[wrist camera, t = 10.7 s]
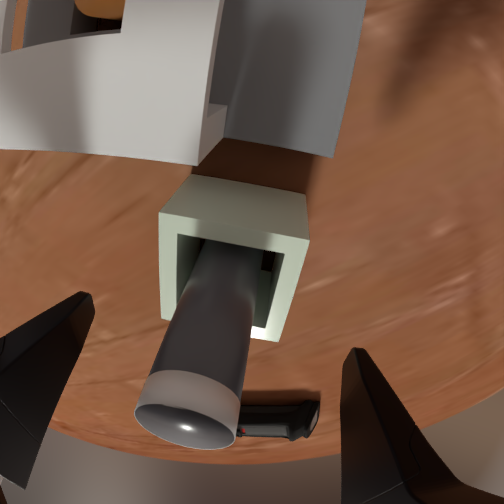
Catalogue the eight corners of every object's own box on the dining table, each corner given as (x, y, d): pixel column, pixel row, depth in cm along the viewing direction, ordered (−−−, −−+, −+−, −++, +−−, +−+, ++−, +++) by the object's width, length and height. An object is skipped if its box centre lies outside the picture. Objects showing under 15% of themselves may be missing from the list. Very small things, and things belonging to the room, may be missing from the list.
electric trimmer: (140, 384, 25) (129, 412, 23) (320, 395, 23) (320, 430, 20) (154, 405, 27) (145, 431, 25) (318, 416, 25) (318, 447, 22)
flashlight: (209, 250, 16) (141, 434, 8) (214, 203, 15) (126, 391, 6) (261, 260, 16) (229, 455, 8) (271, 213, 15) (241, 419, 6)
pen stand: (185, 266, 17) (161, 318, 13) (190, 173, 14) (159, 212, 11) (281, 284, 17) (278, 342, 13) (305, 194, 14) (310, 240, 11)
